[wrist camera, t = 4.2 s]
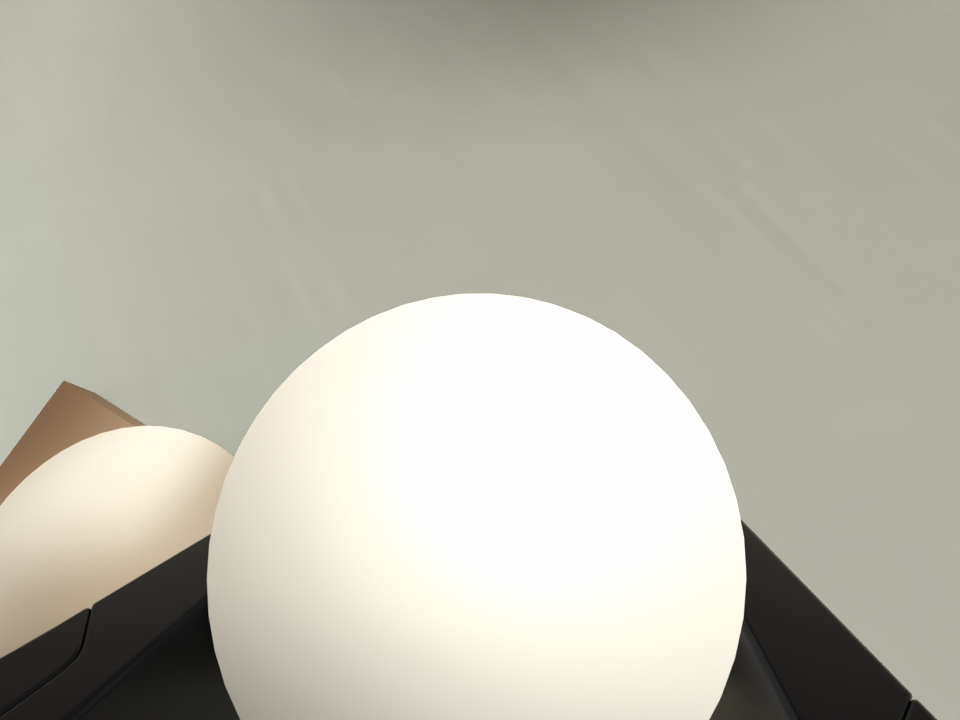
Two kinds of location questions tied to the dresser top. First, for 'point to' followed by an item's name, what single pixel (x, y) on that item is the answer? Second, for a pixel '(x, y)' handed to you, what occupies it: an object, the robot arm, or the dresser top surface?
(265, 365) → the dresser top surface
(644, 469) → the frosted bulb lamp
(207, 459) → the wooden coaster tray
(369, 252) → the dresser top surface
